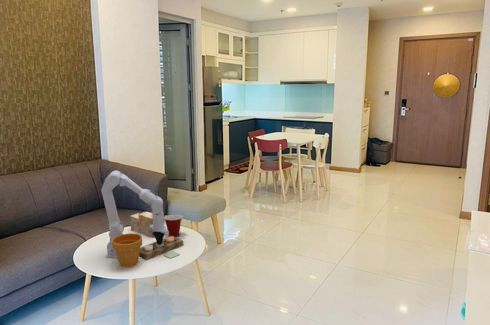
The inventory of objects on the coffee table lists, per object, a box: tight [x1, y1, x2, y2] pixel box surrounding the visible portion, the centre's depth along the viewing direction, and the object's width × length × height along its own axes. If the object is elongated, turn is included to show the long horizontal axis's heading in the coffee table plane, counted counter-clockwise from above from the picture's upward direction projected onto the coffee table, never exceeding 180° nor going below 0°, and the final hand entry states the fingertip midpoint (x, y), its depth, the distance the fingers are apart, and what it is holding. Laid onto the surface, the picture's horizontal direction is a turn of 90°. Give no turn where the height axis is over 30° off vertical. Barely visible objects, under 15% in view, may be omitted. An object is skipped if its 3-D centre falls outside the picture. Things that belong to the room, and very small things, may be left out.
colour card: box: [162, 250, 181, 259], centre depth 194 cm, size 6×6×1 cm
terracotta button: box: [165, 236, 174, 243], centre depth 205 cm, size 4×4×3 cm
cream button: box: [143, 244, 153, 252], centre depth 194 cm, size 4×4×3 cm
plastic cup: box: [164, 214, 183, 238], centre depth 218 cm, size 11×11×12 cm
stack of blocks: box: [129, 211, 155, 239], centre depth 224 cm, size 21×6×12 cm, turn 51°
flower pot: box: [112, 232, 143, 268], centre depth 184 cm, size 14×14×13 cm
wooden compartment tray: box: [139, 236, 184, 261], centre depth 200 cm, size 24×10×3 cm, turn 139°
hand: (159, 244), depth 199 cm, fingers closed, pressing on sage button
